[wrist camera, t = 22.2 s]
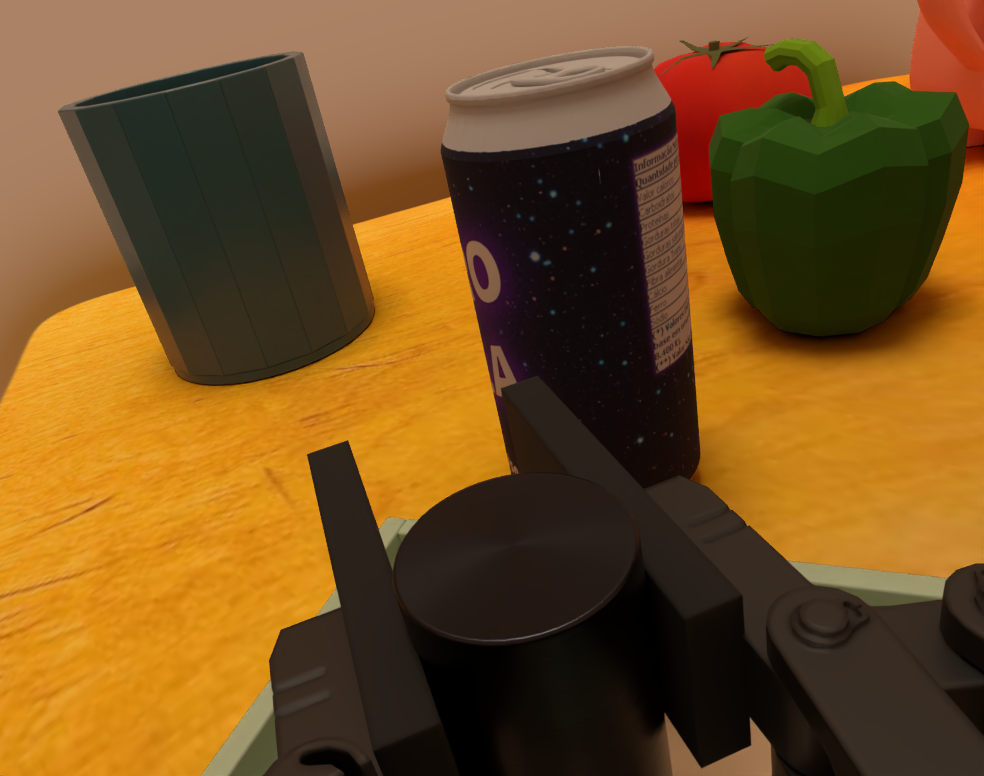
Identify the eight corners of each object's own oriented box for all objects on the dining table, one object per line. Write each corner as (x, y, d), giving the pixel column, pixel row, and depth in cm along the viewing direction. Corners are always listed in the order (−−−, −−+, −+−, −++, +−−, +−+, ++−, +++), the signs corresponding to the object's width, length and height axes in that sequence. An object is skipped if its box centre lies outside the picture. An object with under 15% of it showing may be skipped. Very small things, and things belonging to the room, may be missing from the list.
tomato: (666, 172, 52) (655, 36, 47) (831, 165, 46) (835, 12, 42) (611, 220, 45) (593, 68, 41) (796, 219, 40) (796, 44, 36)
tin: (130, 382, 38) (4, 121, 32) (257, 293, 46) (176, 72, 40) (302, 388, 34) (195, 88, 28) (409, 289, 42) (344, 40, 36)
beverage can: (600, 412, 27) (549, 49, 21) (741, 466, 23) (723, 34, 17) (479, 493, 24) (382, 101, 19) (615, 571, 20) (543, 99, 15)
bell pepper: (1000, 328, 27) (1044, 17, 22) (770, 378, 27) (764, 78, 22) (872, 253, 34) (884, 7, 30) (692, 292, 34) (674, 54, 30)
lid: (106, 1207, 11) (-257, 907, 7) (432, 606, 19) (346, 338, 16) (1113, 1793, 6) (1529, 1801, 3) (942, 673, 15) (983, 323, 11)
